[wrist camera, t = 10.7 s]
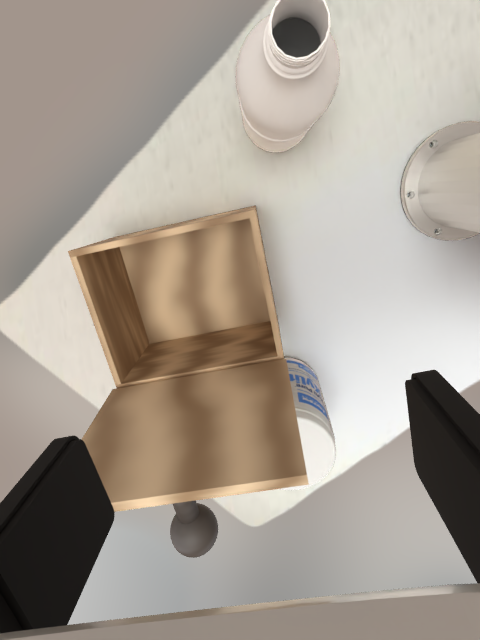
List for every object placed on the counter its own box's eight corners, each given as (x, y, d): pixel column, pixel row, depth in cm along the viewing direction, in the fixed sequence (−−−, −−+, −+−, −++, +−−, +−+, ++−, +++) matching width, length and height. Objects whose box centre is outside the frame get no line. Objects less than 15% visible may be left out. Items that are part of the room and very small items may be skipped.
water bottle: (235, 96, 41) (205, -34, 18) (298, 72, 40) (358, -99, 17) (254, 163, 43) (250, 128, 20) (315, 142, 42) (388, 78, 19)
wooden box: (255, 205, 45) (255, 209, 33) (278, 321, 49) (284, 360, 38) (113, 237, 47) (68, 251, 35) (148, 346, 51) (117, 389, 40)
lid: (306, 474, 23) (323, 559, 26) (286, 358, 37) (298, 421, 40) (35, 513, 25) (78, 588, 28) (112, 389, 39) (136, 447, 42)
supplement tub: (319, 354, 51) (343, 416, 37) (316, 415, 54) (337, 493, 40) (247, 355, 51) (244, 415, 37) (249, 415, 54) (246, 492, 40)
